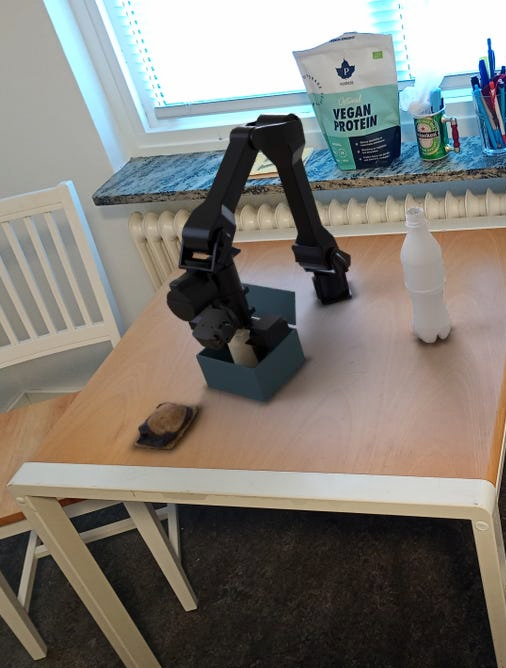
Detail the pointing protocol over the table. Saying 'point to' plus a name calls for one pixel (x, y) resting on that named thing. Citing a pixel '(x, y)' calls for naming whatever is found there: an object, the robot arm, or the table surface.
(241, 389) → the carton
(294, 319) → the flap
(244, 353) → the candle
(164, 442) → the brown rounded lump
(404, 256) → the water bottle
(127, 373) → the table surface
